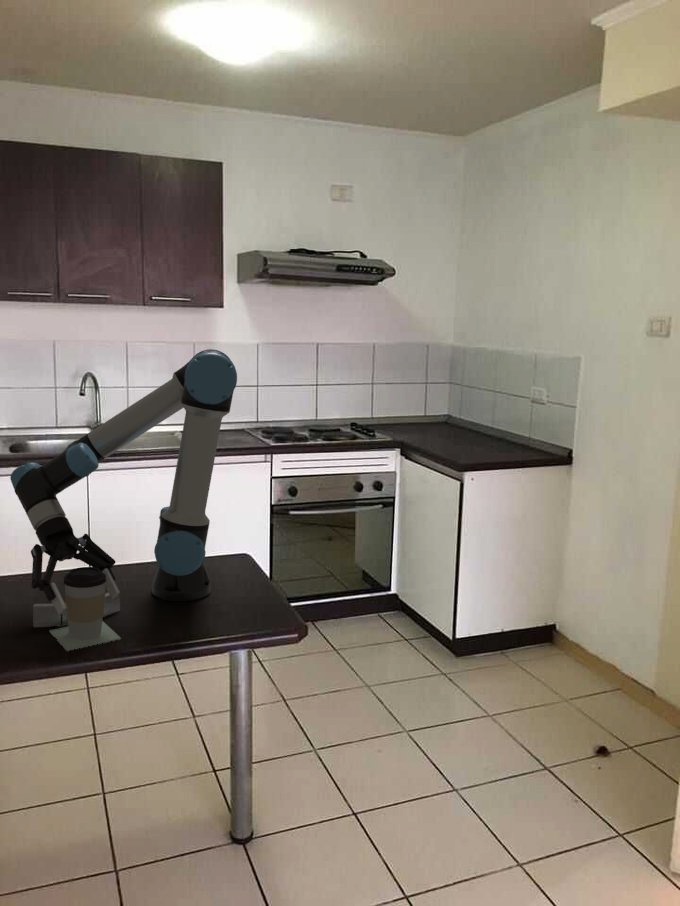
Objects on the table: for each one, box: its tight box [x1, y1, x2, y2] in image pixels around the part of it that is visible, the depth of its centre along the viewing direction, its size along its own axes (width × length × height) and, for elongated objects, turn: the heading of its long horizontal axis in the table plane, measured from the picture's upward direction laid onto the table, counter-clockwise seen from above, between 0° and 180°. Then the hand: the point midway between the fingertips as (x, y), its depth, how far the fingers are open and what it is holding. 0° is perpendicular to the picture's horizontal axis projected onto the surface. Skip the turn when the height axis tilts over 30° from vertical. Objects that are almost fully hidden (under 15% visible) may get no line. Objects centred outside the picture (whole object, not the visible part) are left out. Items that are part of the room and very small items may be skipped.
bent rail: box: [32, 590, 121, 628], centre depth 181 cm, size 20×4×5 cm, turn 128°
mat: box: [49, 620, 122, 652], centre depth 172 cm, size 12×12×1 cm
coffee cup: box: [63, 566, 106, 640], centre depth 171 cm, size 9×9×15 cm
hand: (90, 603), depth 170 cm, fingers open, 13 cm apart
